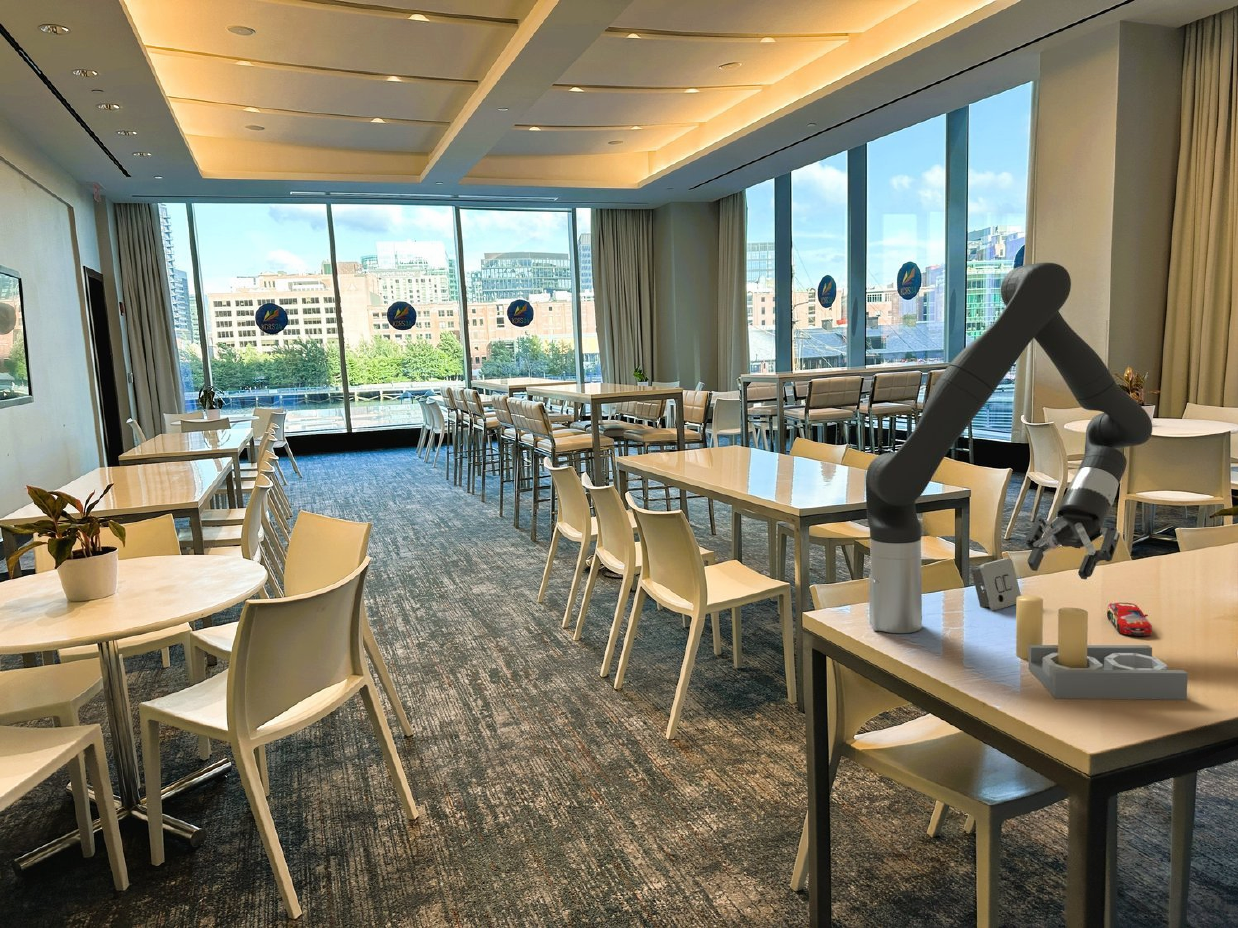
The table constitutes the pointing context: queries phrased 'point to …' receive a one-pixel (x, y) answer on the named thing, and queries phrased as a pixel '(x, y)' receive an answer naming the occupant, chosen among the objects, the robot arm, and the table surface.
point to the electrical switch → (996, 584)
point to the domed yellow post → (1028, 624)
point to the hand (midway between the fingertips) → (1056, 572)
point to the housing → (1101, 666)
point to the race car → (1128, 619)
